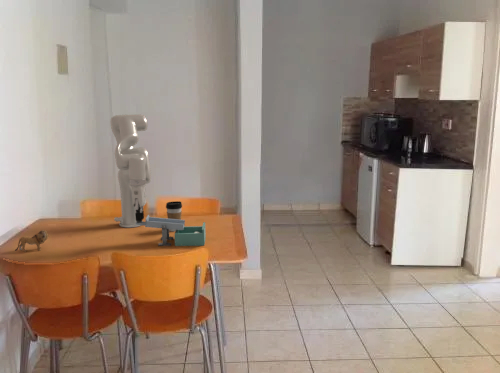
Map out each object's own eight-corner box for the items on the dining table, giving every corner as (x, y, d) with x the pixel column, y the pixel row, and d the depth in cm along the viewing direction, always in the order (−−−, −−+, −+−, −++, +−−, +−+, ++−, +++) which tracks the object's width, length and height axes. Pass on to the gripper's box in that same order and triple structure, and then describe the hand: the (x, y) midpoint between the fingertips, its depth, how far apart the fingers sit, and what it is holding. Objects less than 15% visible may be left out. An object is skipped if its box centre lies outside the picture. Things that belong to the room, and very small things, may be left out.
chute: (134, 226, 226) (135, 210, 224) (137, 221, 233) (138, 207, 232) (183, 230, 227) (184, 215, 226) (184, 225, 234) (185, 211, 233)
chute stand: (158, 246, 226) (157, 226, 224) (161, 238, 238) (160, 219, 236) (170, 246, 226) (169, 226, 224) (173, 238, 238) (172, 219, 236)
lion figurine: (49, 246, 227) (47, 228, 225) (48, 249, 222) (47, 231, 220) (15, 250, 222) (13, 231, 220) (14, 253, 217) (12, 234, 215)
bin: (174, 246, 226) (174, 229, 225) (177, 238, 238) (177, 222, 236) (204, 245, 227) (204, 229, 225) (205, 237, 239) (205, 222, 237)
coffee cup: (179, 232, 247) (178, 204, 244) (164, 231, 248) (163, 203, 245) (185, 228, 255) (184, 200, 252) (170, 227, 257) (169, 200, 253)
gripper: (142, 185, 218) (144, 224, 221) (148, 178, 233) (150, 215, 237) (126, 185, 217) (128, 224, 221) (133, 179, 233) (135, 215, 237)
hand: (139, 219), depth 229 cm, fingers closed on chute, 2 cm apart
